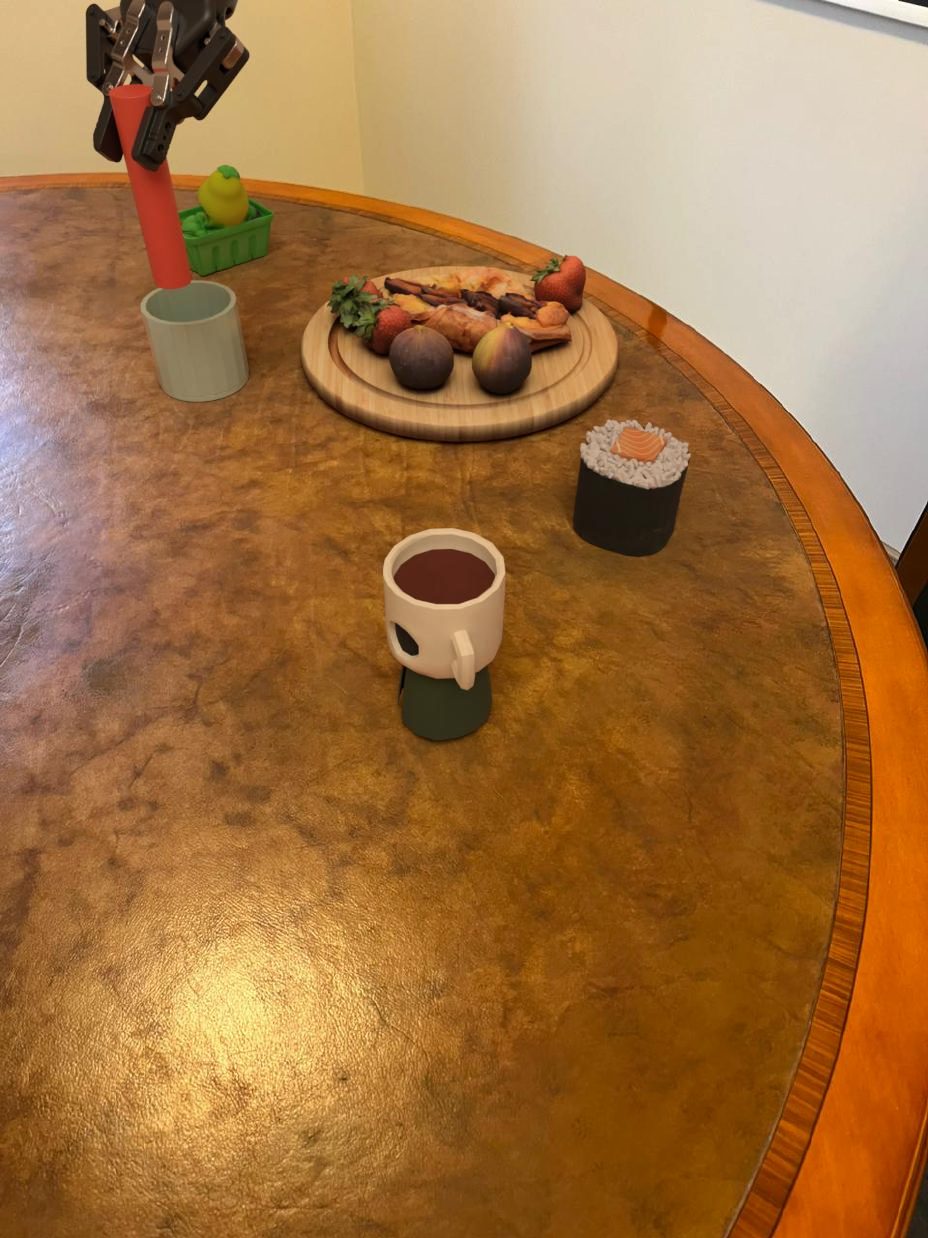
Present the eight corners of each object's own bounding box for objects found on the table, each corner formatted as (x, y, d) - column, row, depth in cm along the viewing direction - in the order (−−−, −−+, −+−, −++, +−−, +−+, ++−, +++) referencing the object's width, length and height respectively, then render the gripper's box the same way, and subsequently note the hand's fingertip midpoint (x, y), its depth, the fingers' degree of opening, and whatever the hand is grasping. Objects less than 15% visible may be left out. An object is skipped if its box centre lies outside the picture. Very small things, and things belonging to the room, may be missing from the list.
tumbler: (150, 401, 88) (129, 323, 83) (171, 354, 94) (153, 279, 89) (240, 403, 88) (225, 325, 83) (256, 356, 94) (243, 280, 89)
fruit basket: (246, 234, 115) (231, 136, 107) (288, 258, 110) (275, 158, 102) (164, 261, 109) (141, 160, 101) (204, 288, 105) (184, 184, 97)
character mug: (376, 660, 66) (365, 517, 56) (474, 642, 67) (478, 499, 58) (411, 786, 58) (404, 645, 49) (519, 762, 60) (532, 621, 50)
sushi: (592, 482, 80) (603, 402, 75) (686, 509, 78) (705, 429, 72) (557, 536, 75) (566, 455, 69) (656, 568, 73) (674, 486, 67)
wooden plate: (547, 268, 109) (552, 196, 103) (673, 413, 88) (689, 333, 82) (275, 307, 102) (264, 232, 96) (342, 475, 80) (333, 392, 75)
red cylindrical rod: (150, 289, 74) (103, 96, 64) (159, 272, 77) (115, 83, 67) (187, 289, 74) (146, 97, 64) (196, 273, 76) (157, 84, 66)
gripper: (90, -127, 65) (13, 115, 66) (252, -109, 60) (166, 151, 61) (159, -48, 72) (89, 169, 73) (309, -27, 67) (231, 205, 68)
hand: (125, 159), depth 67 cm, fingers closed on red cylindrical rod, 3 cm apart
